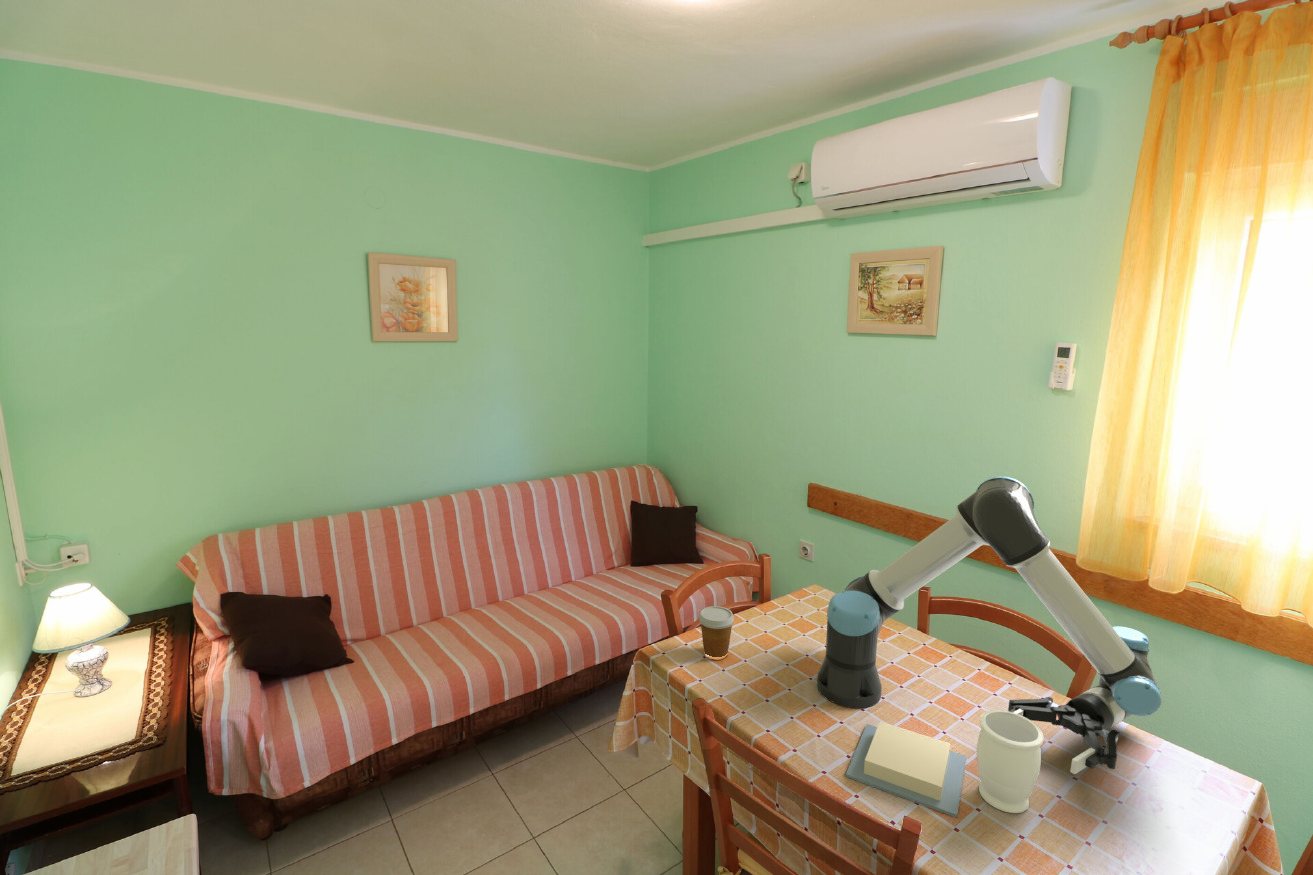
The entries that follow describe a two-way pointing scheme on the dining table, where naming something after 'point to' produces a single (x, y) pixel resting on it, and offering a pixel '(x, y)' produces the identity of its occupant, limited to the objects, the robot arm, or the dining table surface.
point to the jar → (1008, 759)
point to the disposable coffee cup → (716, 630)
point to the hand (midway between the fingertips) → (1035, 745)
